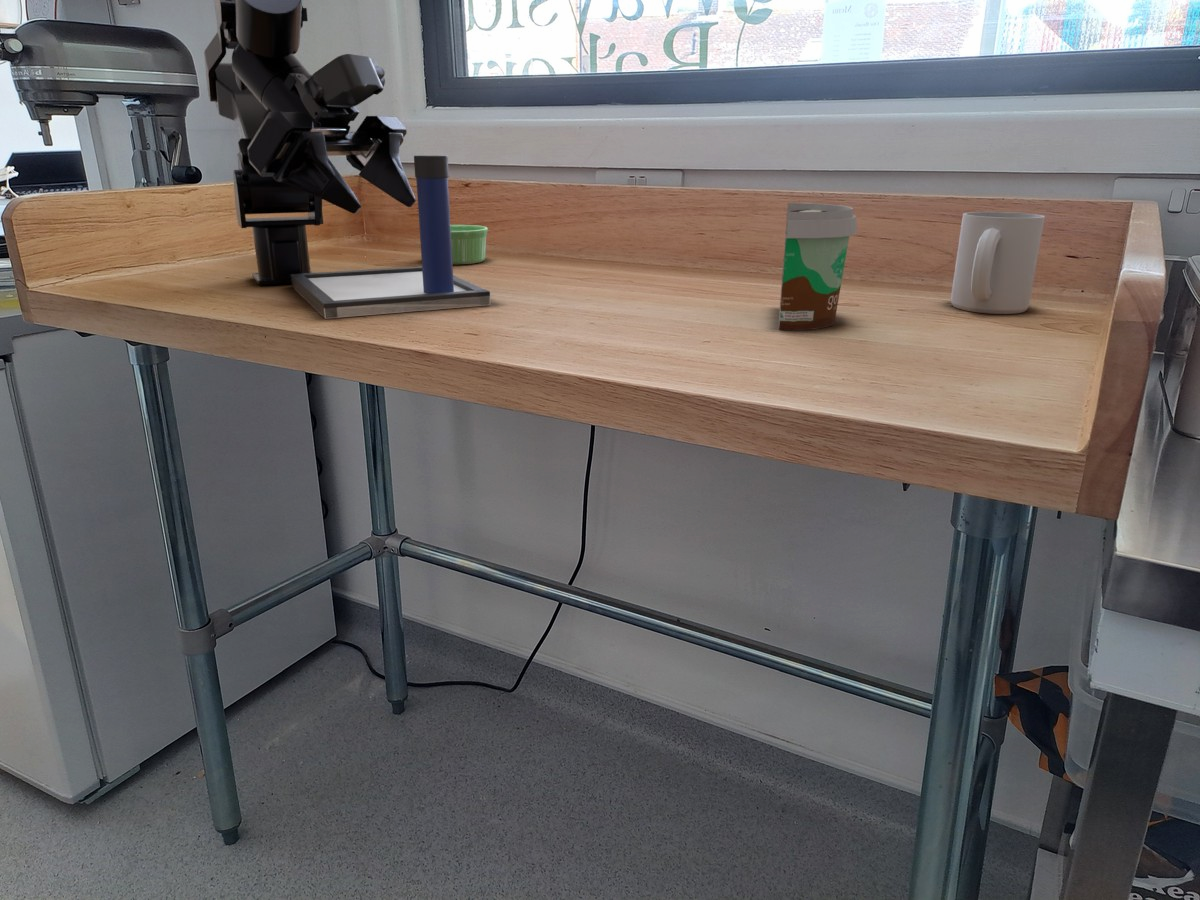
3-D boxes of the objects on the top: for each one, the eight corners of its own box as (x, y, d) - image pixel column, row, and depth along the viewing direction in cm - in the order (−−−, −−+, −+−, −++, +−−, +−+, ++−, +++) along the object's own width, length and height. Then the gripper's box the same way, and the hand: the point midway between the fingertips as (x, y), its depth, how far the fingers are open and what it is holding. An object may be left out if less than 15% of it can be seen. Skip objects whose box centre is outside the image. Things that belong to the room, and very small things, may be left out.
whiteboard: (292, 286, 95) (290, 274, 94) (432, 277, 102) (431, 265, 101) (325, 318, 78) (323, 303, 77) (490, 305, 85) (490, 291, 84)
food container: (853, 336, 72) (866, 213, 69) (778, 333, 73) (788, 212, 70) (843, 309, 83) (854, 203, 80) (779, 307, 85) (787, 202, 81)
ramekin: (412, 264, 112) (409, 230, 110) (433, 256, 120) (432, 224, 119) (478, 266, 111) (477, 231, 109) (496, 257, 119) (494, 225, 118)
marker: (418, 290, 87) (409, 155, 82) (449, 288, 88) (442, 155, 84) (427, 295, 84) (418, 156, 80) (459, 293, 86) (452, 155, 81)
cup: (1035, 306, 86) (1051, 214, 83) (1013, 322, 78) (1031, 221, 75) (960, 298, 90) (973, 210, 87) (933, 313, 82) (946, 217, 79)
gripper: (255, 11, 74) (372, 148, 74) (384, 34, 90) (480, 146, 90) (200, 109, 79) (308, 237, 79) (331, 115, 95) (421, 221, 95)
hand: (386, 207), depth 86 cm, fingers open, 9 cm apart
